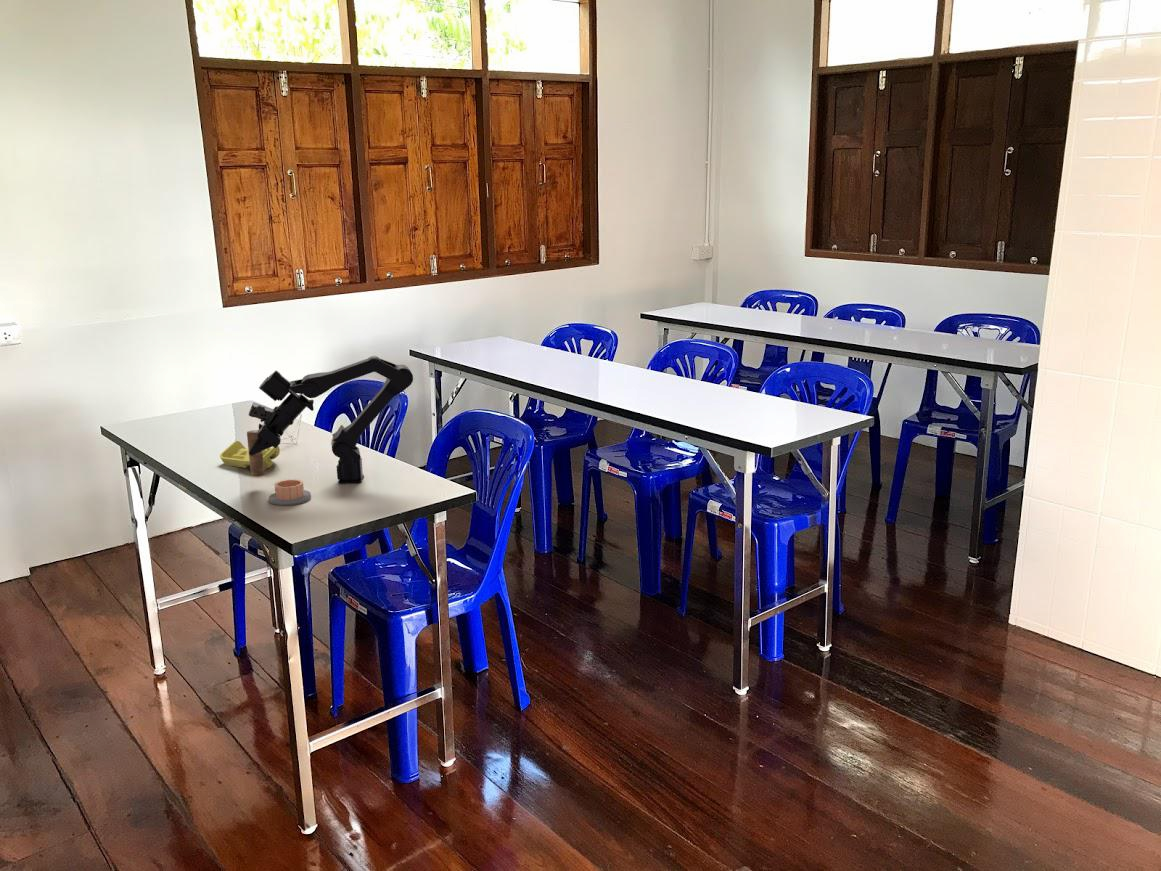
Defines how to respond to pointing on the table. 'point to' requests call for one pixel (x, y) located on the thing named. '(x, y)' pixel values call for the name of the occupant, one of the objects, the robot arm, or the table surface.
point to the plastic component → (246, 455)
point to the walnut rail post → (255, 455)
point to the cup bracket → (289, 493)
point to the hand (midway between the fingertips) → (250, 452)
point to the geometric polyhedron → (293, 432)
